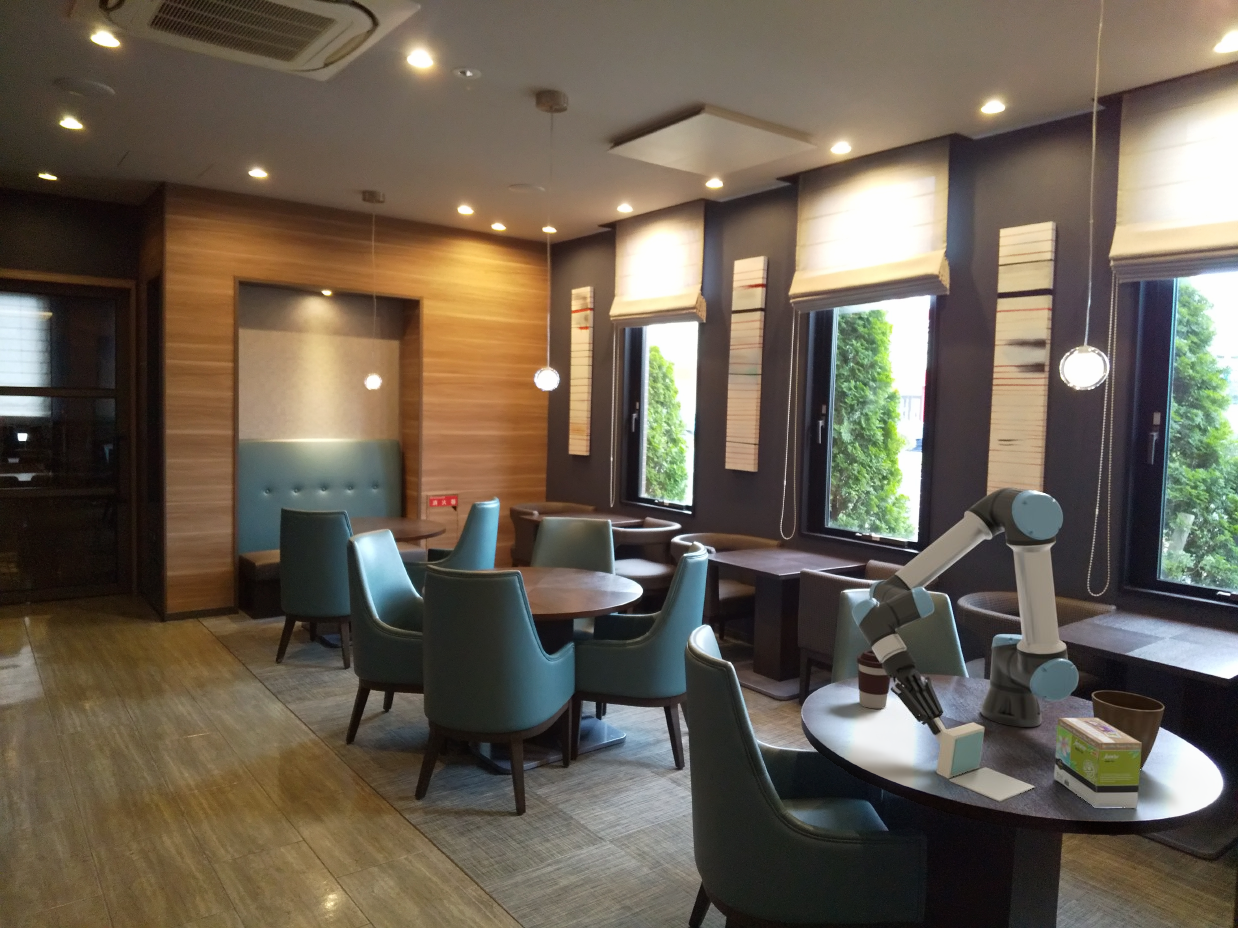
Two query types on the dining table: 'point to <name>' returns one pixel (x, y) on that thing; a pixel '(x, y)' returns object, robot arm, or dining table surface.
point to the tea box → (1098, 762)
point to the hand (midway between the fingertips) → (948, 745)
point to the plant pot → (1130, 716)
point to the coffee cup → (872, 681)
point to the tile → (960, 749)
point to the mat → (992, 784)
